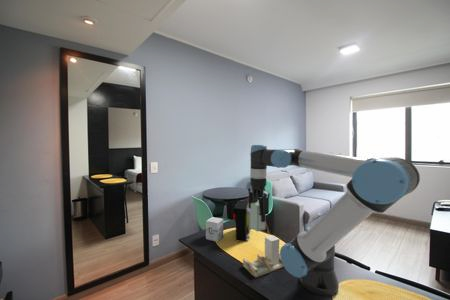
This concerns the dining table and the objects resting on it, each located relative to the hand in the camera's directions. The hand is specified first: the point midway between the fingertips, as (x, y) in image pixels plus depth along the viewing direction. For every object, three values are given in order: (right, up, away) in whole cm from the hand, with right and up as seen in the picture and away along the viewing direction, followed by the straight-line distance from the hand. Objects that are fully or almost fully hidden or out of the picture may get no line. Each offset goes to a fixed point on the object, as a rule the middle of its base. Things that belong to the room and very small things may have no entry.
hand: (258, 225), depth 99 cm
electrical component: (-4, -20, +37) cm, 42 cm away
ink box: (-22, -20, +33) cm, 44 cm away
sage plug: (0, -1, 0) cm, 1 cm away
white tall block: (+8, -20, +5) cm, 22 cm away
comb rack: (+4, -21, +3) cm, 21 cm away
